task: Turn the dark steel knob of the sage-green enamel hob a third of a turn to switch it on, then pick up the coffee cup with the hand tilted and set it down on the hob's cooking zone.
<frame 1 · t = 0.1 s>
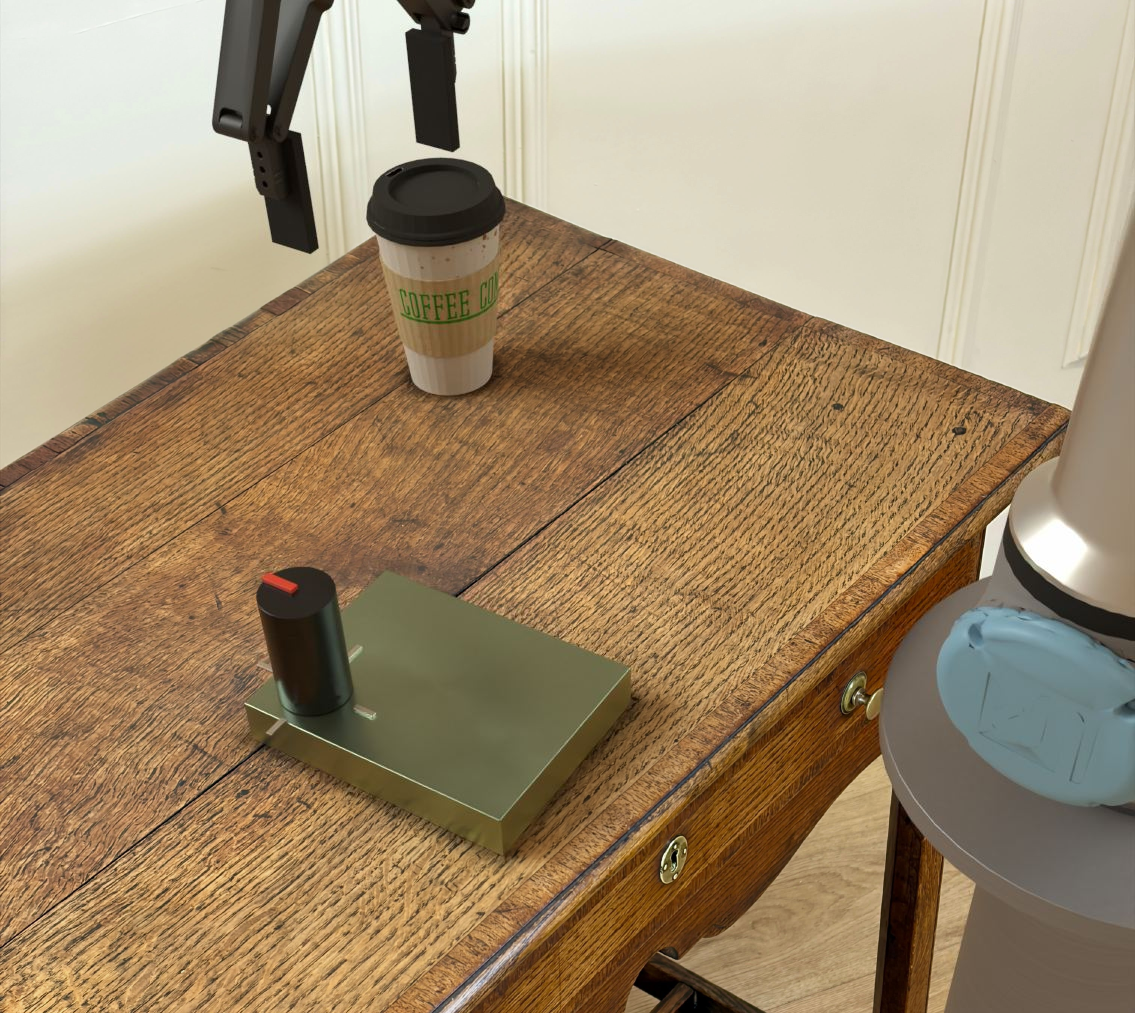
hand: (369, 193, 91), 24 cm above the table, tool pointing down, fingers open, 13 cm apart
hob: (442, 720, 95), on the table
coffee cup: (452, 374, 121), on the table
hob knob: (305, 640, 90), point 7 cm above the table, hinge at 0.0°
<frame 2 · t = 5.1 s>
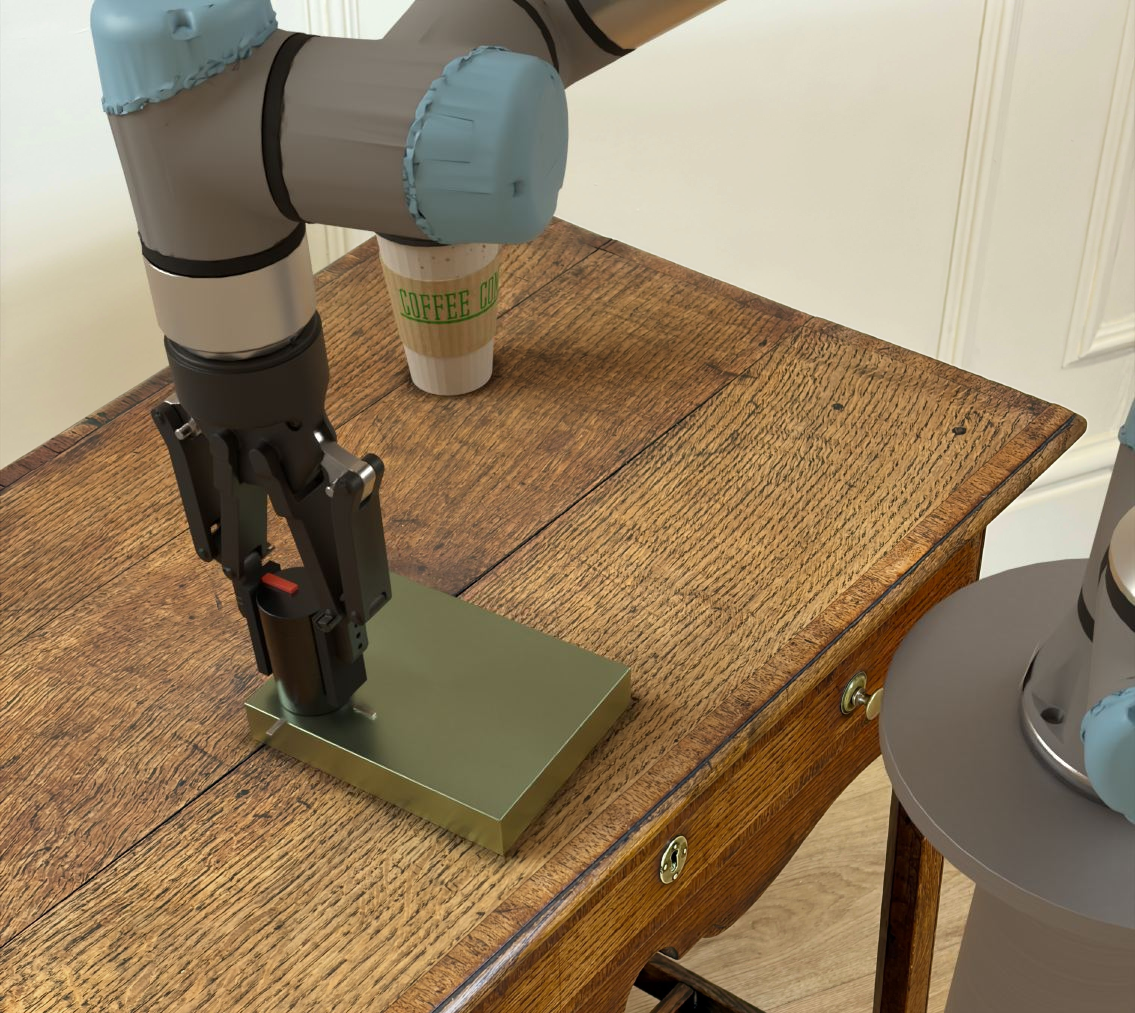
hand: (312, 675, 92), 4 cm above the table, tool pointing down, fingers closed on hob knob, 4 cm apart
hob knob: (305, 640, 90), point 7 cm above the table, hinge at 0.0°, touching gripper
everything else where it was.
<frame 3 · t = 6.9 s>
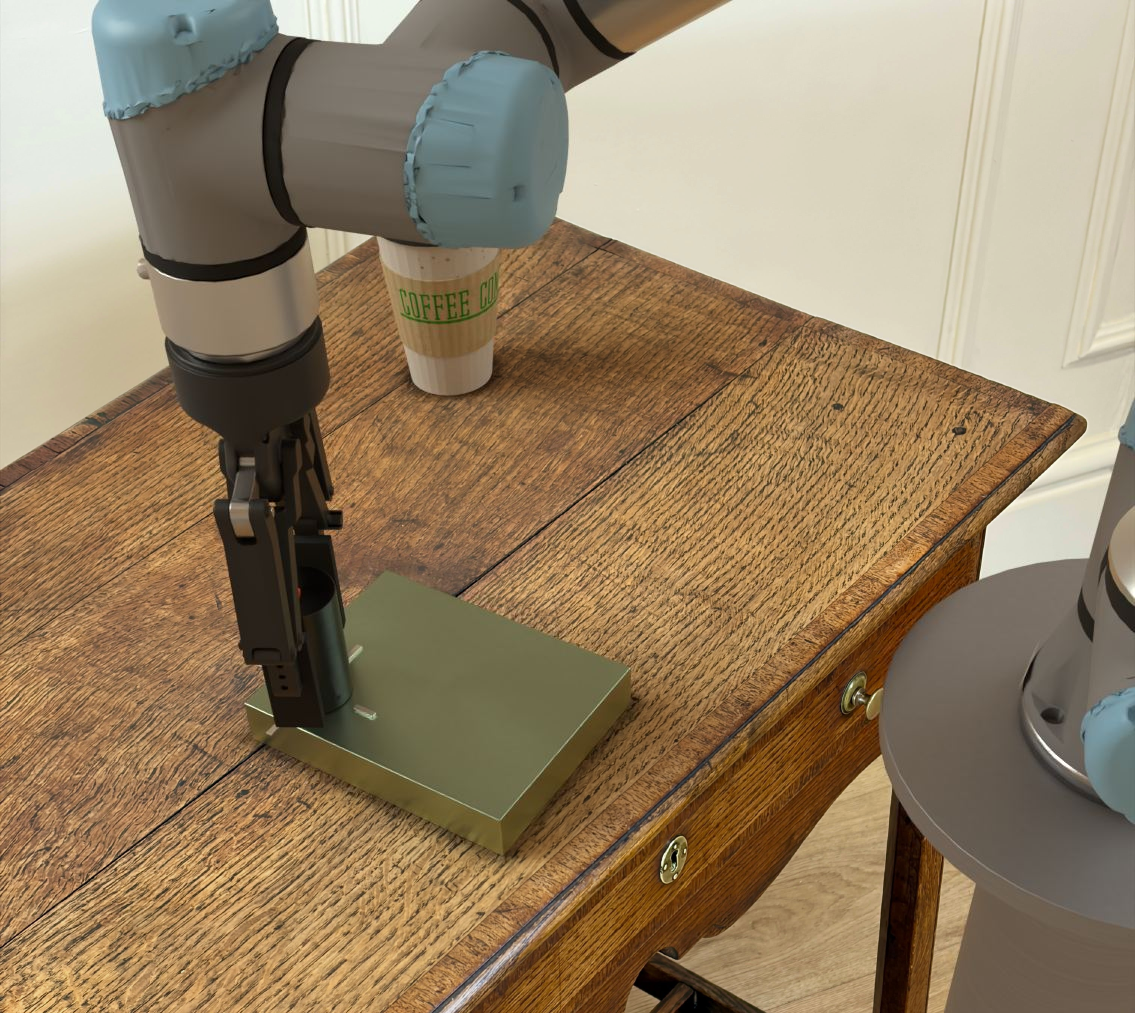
hand: (311, 671, 92), 4 cm above the table, tool pointing down, fingers open, 8 cm apart
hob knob: (305, 640, 90), point 7 cm above the table, hinge at 120.3°
everything else where it was.
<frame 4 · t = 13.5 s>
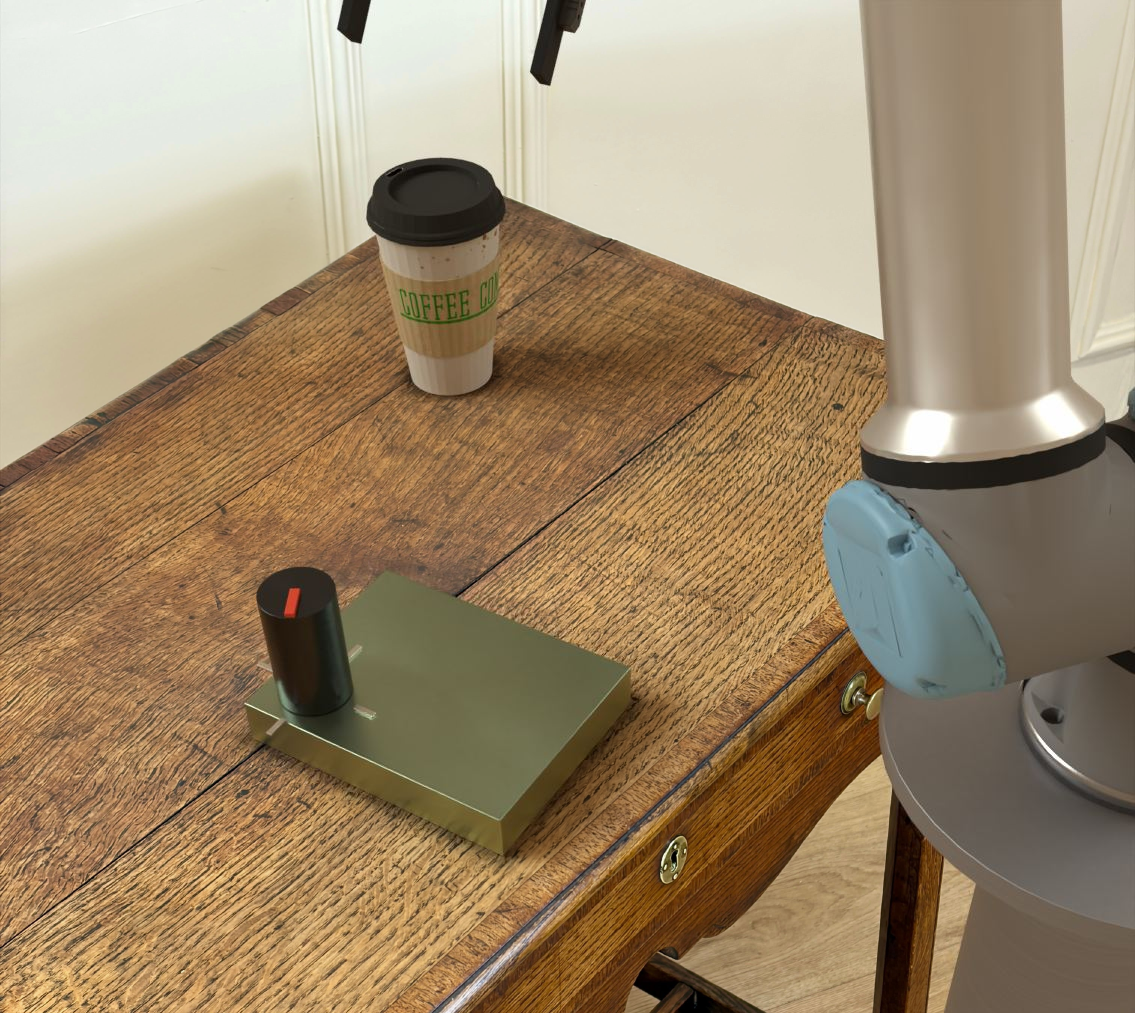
hand: (443, 58, 105), 23 cm above the table, tool tilted 40°, fingers open, 13 cm apart
nothing on the table moved.
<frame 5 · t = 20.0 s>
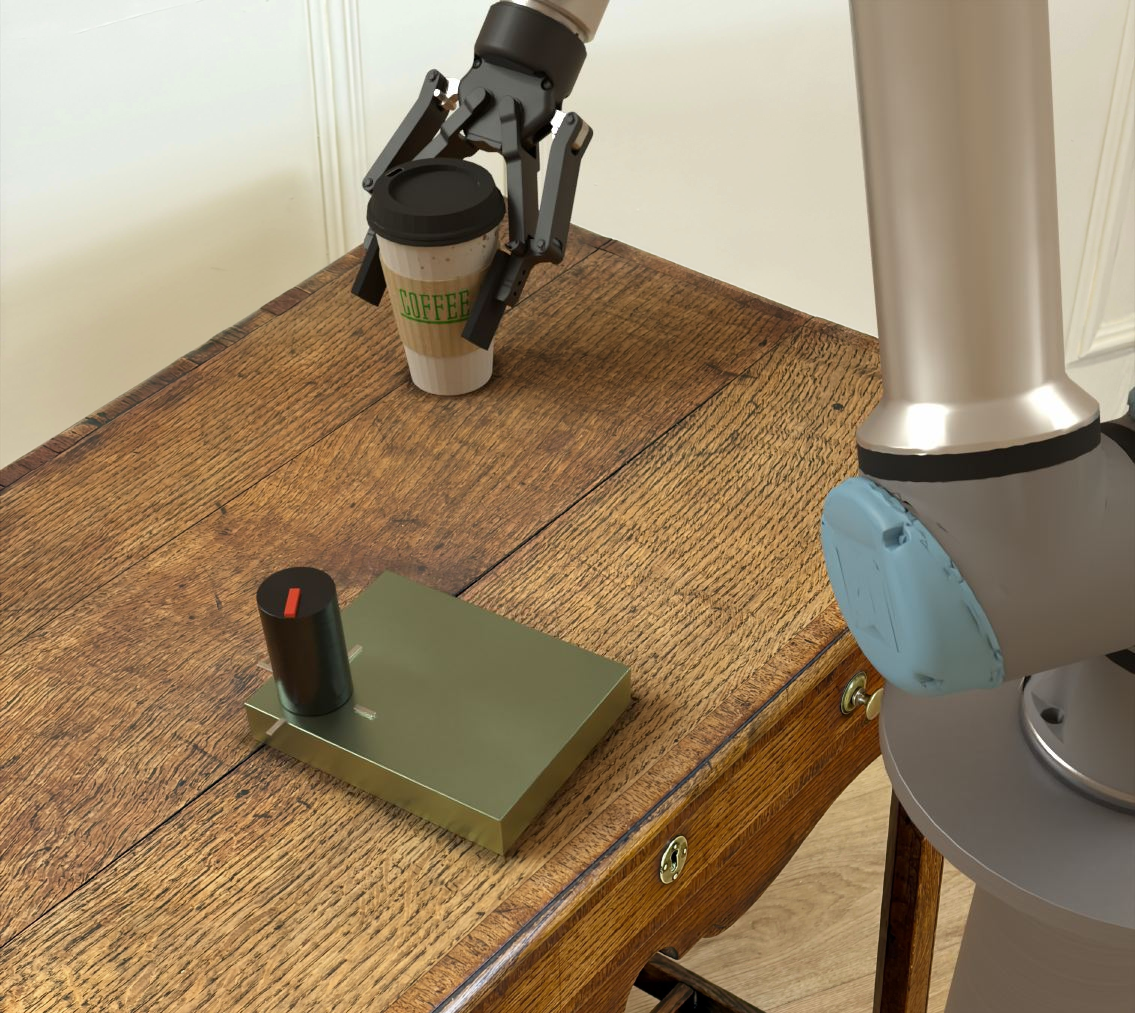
hand: (418, 321, 115), 6 cm above the table, tool tilted 45°, fingers closed on coffee cup, 10 cm apart
coffee cup: (452, 374, 121), on the table, touching gripper
everything else where it was.
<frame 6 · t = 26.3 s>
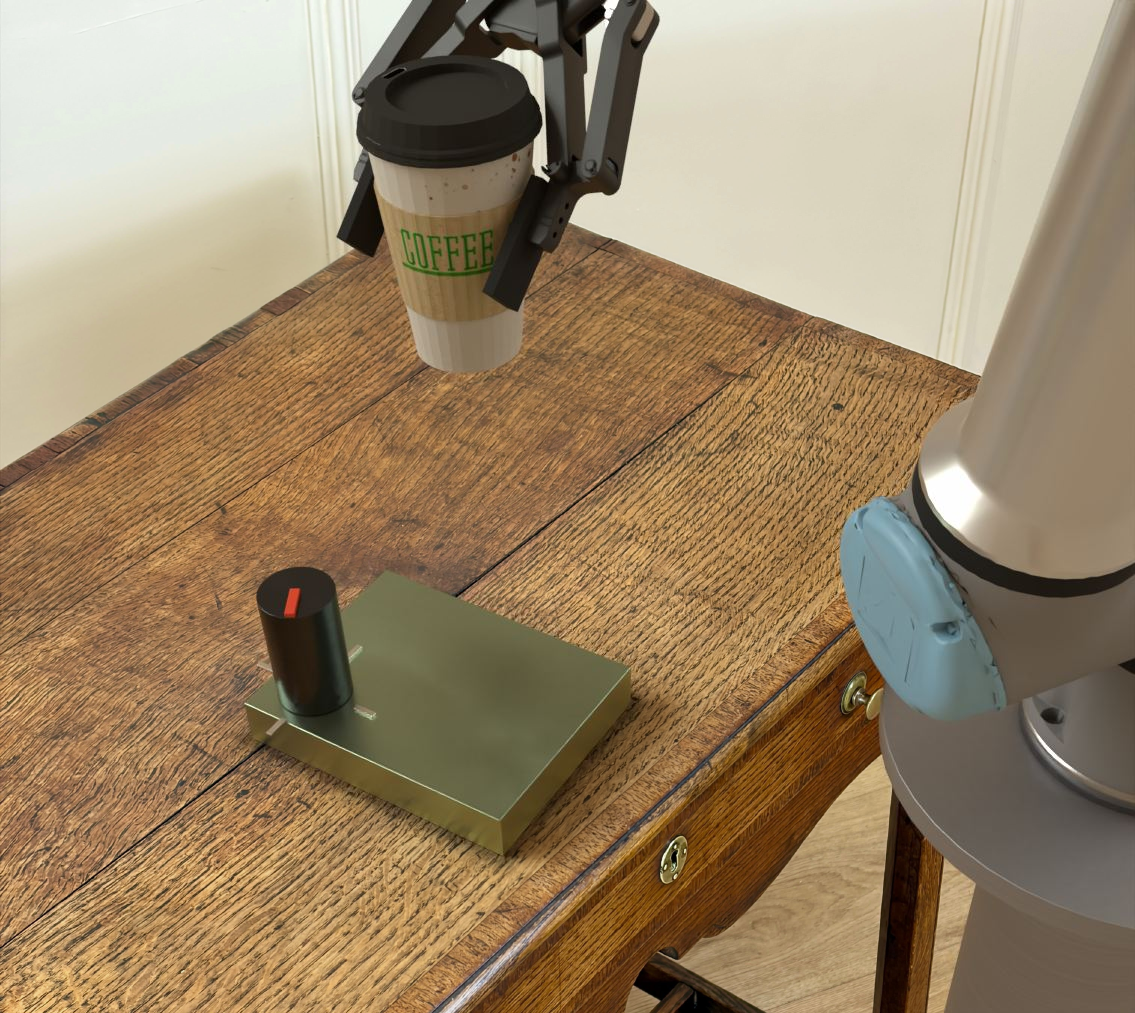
hand: (425, 274, 87), 23 cm above the table, tool tilted 45°, fingers closed on coffee cup, 10 cm apart
coffee cup: (469, 347, 93), point 17 cm above the table, touching gripper
everything else where it was.
when the fingers open (9 cm above the table, at t = 32.5 s): coffee cup stays where it is, resting on hob.
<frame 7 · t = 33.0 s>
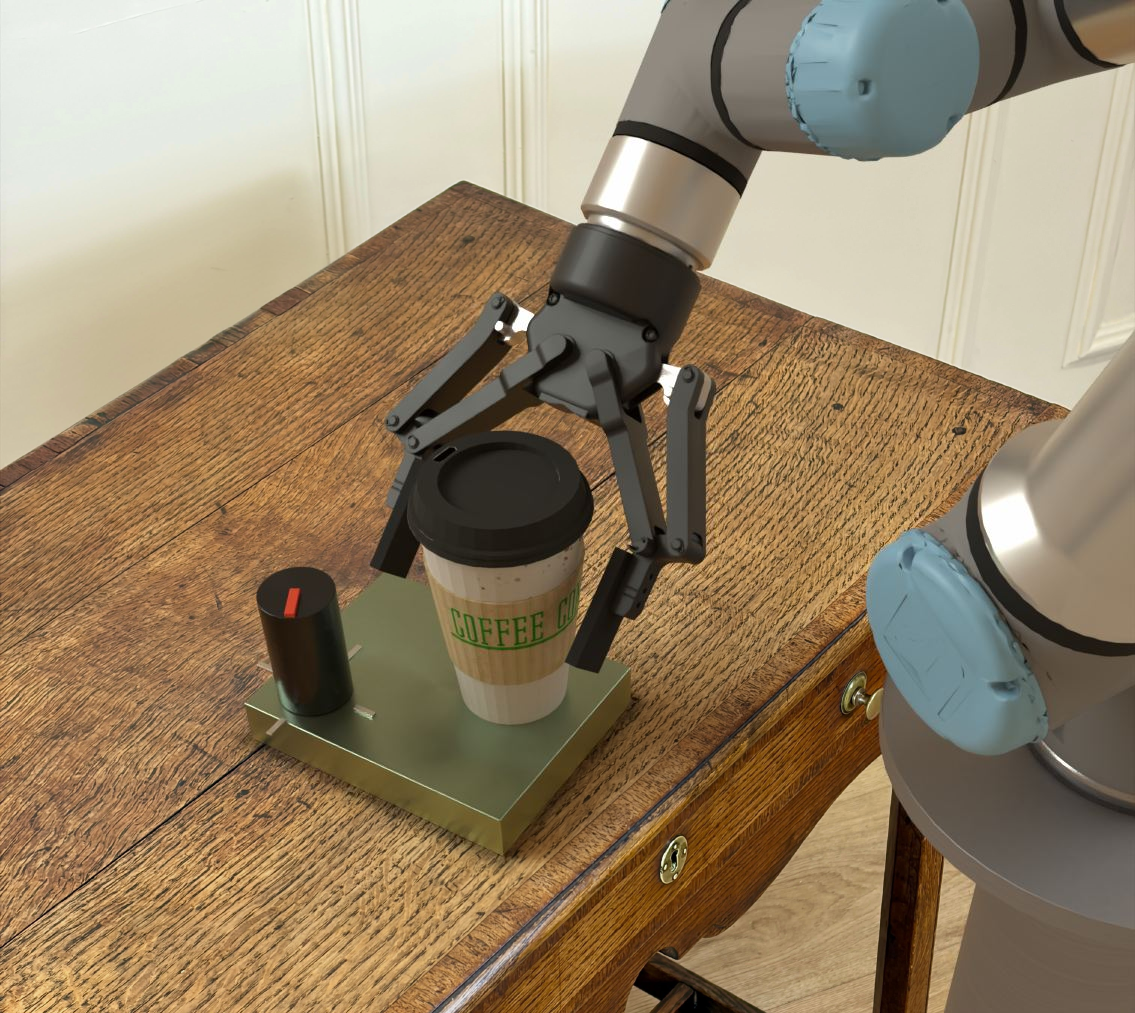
hand: (480, 619, 86), 10 cm above the table, tool tilted 45°, fingers open, 13 cm apart
coffee cup: (514, 689, 93), point 3 cm above the table, touching hob
everything else where it was.
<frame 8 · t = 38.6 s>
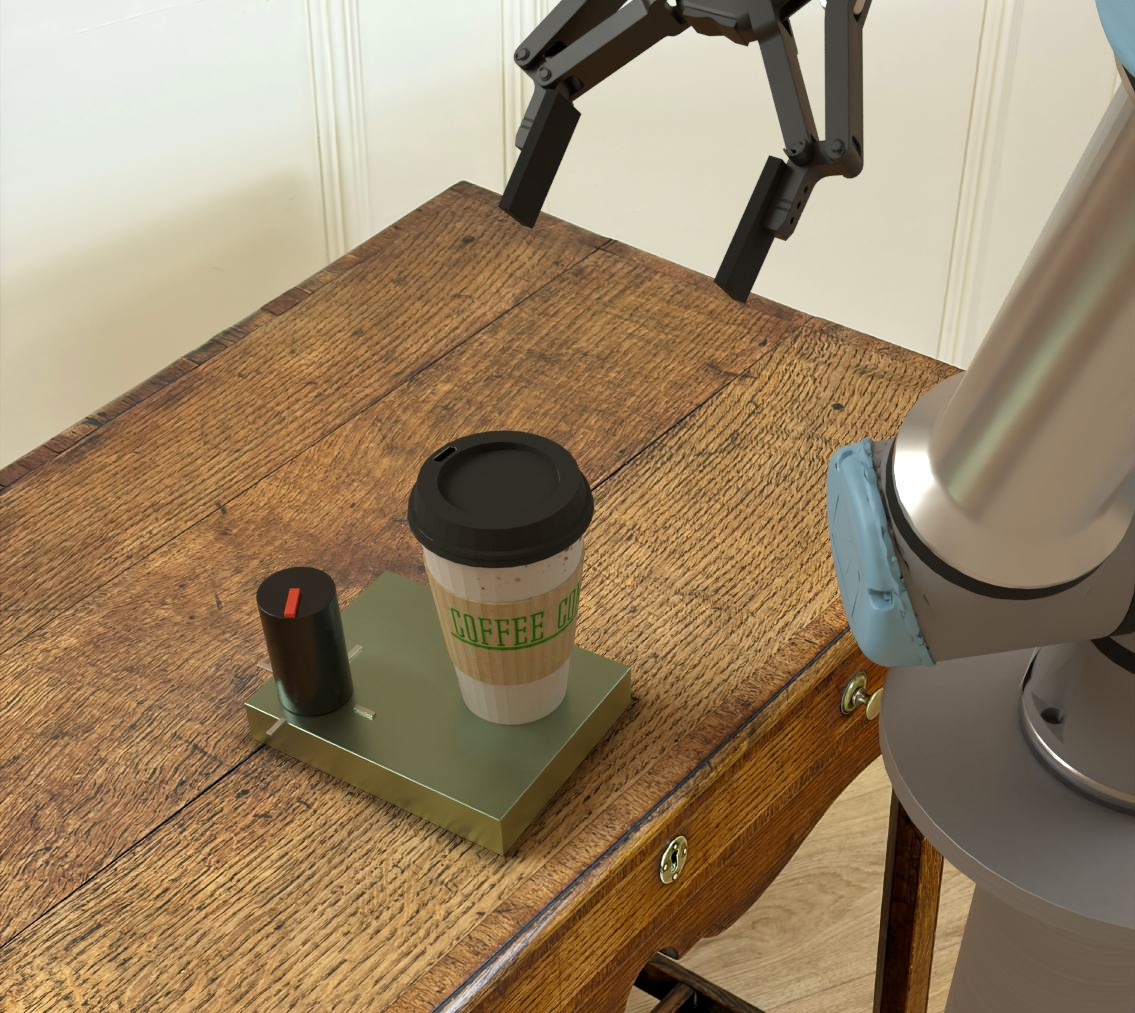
hand: (618, 254, 82), 26 cm above the table, tool tilted 45°, fingers open, 13 cm apart
nothing on the table moved.
at the end: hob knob at +120° (first picture: +0°); coffee cup inside the target area on the hob (0.1 cm from its centre), point 2.8 cm above the hob's base; coffee cup tilted 0° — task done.
